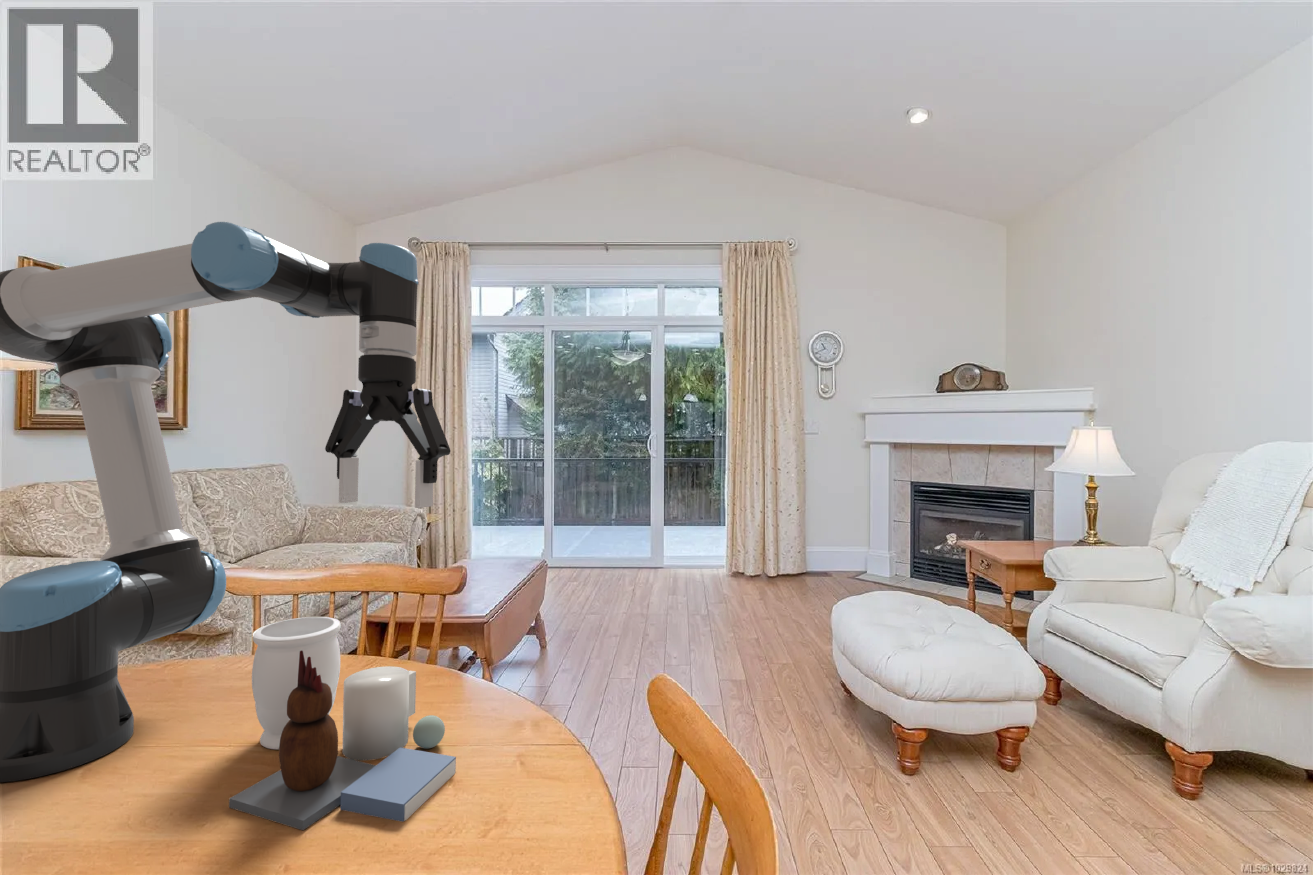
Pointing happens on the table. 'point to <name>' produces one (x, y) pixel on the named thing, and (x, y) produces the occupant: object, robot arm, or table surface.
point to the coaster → (298, 796)
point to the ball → (428, 731)
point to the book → (398, 784)
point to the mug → (377, 711)
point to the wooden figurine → (308, 732)
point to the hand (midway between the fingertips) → (385, 504)
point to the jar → (290, 667)
